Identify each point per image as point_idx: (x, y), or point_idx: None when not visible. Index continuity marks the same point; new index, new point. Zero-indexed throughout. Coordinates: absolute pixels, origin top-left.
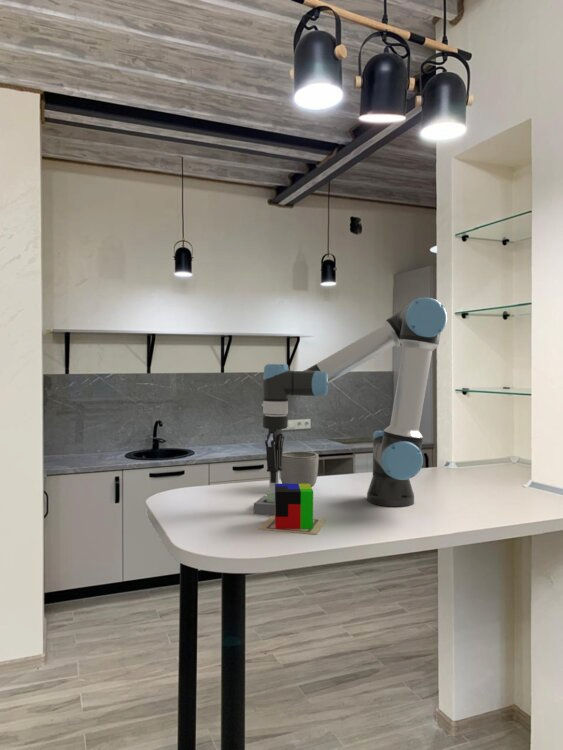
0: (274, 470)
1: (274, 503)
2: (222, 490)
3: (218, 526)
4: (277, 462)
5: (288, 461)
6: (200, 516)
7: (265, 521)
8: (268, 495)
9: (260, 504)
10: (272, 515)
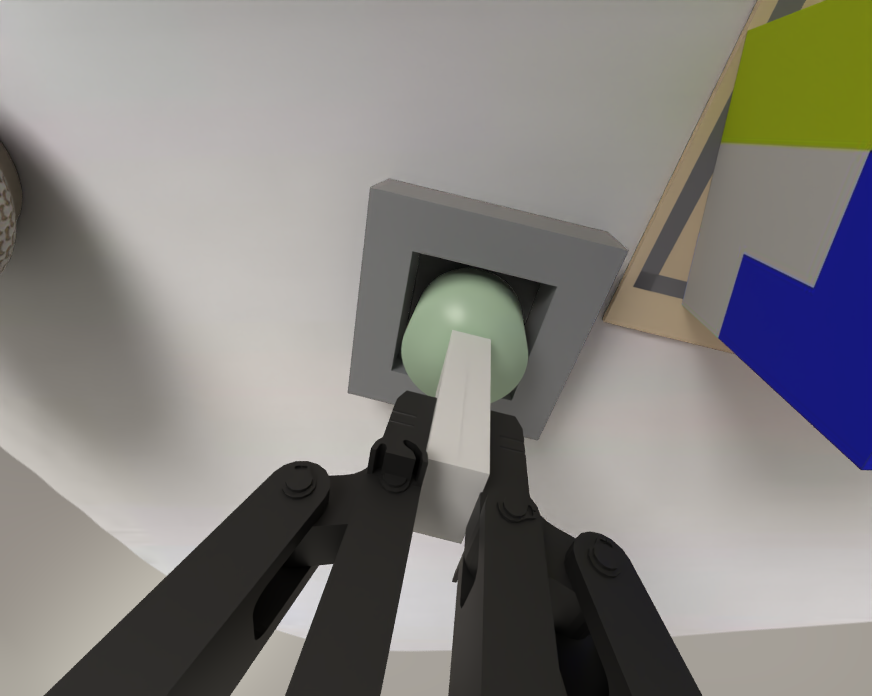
0: (620, 557)
1: (547, 333)
2: (168, 509)
3: (732, 521)
4: (510, 630)
5: None
6: None
7: (731, 352)
8: (503, 393)
9: (552, 407)
10: (606, 318)
